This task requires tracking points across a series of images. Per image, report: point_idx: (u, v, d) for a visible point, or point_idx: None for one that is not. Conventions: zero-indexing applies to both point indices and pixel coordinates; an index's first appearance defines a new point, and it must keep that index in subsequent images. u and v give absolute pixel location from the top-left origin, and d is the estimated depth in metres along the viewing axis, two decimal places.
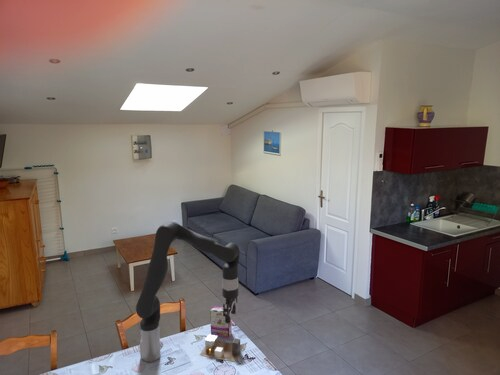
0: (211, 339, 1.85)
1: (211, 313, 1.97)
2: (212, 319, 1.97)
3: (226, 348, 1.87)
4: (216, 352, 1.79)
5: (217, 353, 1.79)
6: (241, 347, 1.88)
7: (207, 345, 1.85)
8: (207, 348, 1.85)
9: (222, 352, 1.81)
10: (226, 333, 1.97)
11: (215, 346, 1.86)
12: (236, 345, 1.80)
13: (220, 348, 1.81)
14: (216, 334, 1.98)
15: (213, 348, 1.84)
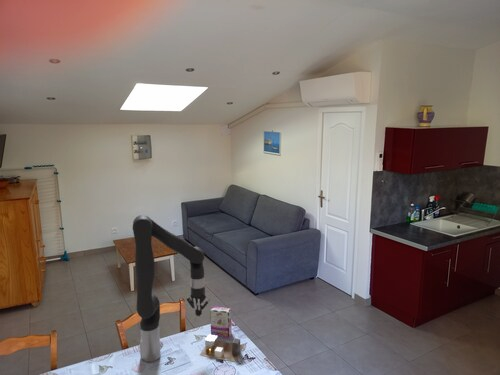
0: (211, 339, 1.85)
1: (211, 313, 1.97)
2: (212, 319, 1.97)
3: (226, 348, 1.87)
4: (216, 352, 1.79)
5: (217, 353, 1.79)
6: (241, 347, 1.88)
7: (207, 345, 1.85)
8: (207, 348, 1.85)
9: (222, 352, 1.81)
10: (226, 333, 1.97)
11: (215, 346, 1.86)
12: (236, 345, 1.80)
13: (220, 348, 1.81)
14: (216, 334, 1.98)
15: (213, 348, 1.84)
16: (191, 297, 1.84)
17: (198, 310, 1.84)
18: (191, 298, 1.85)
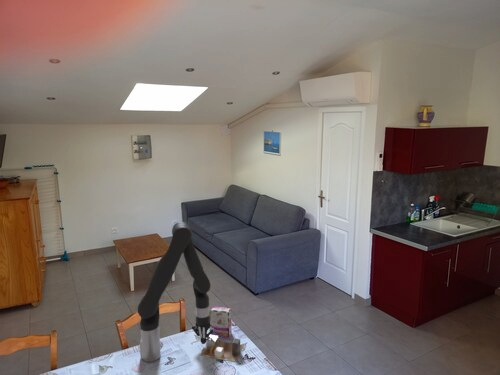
0: (212, 339, 1.84)
1: (211, 313, 1.97)
2: (212, 319, 1.97)
3: (226, 348, 1.87)
4: (216, 352, 1.79)
5: (217, 353, 1.79)
6: (241, 347, 1.88)
7: (208, 345, 1.85)
8: (208, 348, 1.85)
9: (222, 352, 1.81)
10: (226, 333, 1.97)
11: (216, 346, 1.85)
12: (236, 345, 1.80)
13: (220, 348, 1.81)
14: (216, 334, 1.98)
15: (214, 348, 1.84)
16: (196, 325, 1.87)
17: (203, 338, 1.87)
18: (196, 326, 1.87)
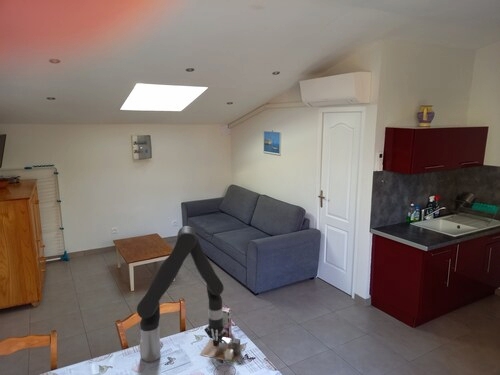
0: (225, 342, 1.82)
1: None
2: None
3: None
4: (226, 354, 1.78)
5: (227, 355, 1.78)
6: (241, 347, 1.88)
7: (221, 348, 1.82)
8: (221, 351, 1.83)
9: (232, 354, 1.79)
10: (226, 333, 1.97)
11: None
12: (236, 345, 1.80)
13: (230, 350, 1.80)
14: None
15: None
16: (209, 327, 1.84)
17: (216, 340, 1.84)
18: (209, 328, 1.85)
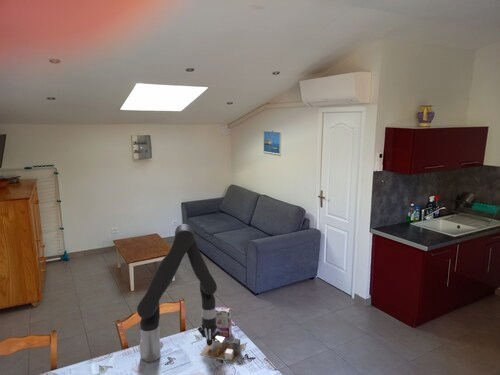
0: (219, 341, 1.83)
1: None
2: None
3: (226, 348, 1.87)
4: (226, 354, 1.78)
5: (227, 355, 1.78)
6: (241, 347, 1.88)
7: (214, 347, 1.83)
8: (214, 349, 1.84)
9: (232, 354, 1.79)
10: (226, 333, 1.97)
11: (223, 347, 1.84)
12: (236, 345, 1.80)
13: (230, 350, 1.80)
14: None
15: (221, 349, 1.83)
16: (202, 327, 1.85)
17: (209, 340, 1.85)
18: (202, 328, 1.86)
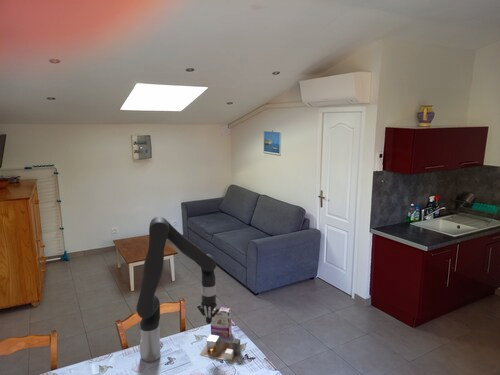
0: (213, 339, 1.84)
1: None
2: (212, 319, 1.97)
3: (226, 348, 1.87)
4: (226, 354, 1.78)
5: (227, 355, 1.78)
6: (241, 347, 1.88)
7: (209, 345, 1.84)
8: (209, 348, 1.85)
9: (232, 354, 1.79)
10: (226, 333, 1.97)
11: (217, 346, 1.85)
12: (236, 345, 1.80)
13: (230, 350, 1.80)
14: (216, 334, 1.98)
15: (215, 348, 1.84)
16: (202, 305, 1.83)
17: (208, 318, 1.84)
18: (202, 306, 1.84)
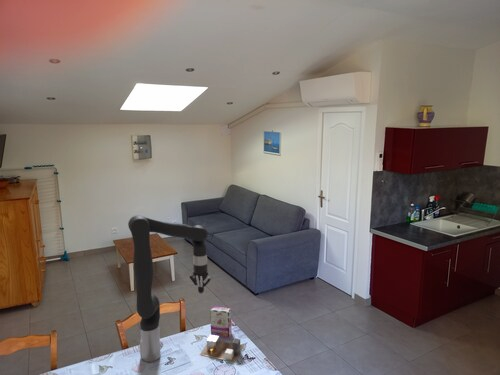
0: (213, 339, 1.84)
1: (211, 313, 1.97)
2: (212, 319, 1.97)
3: (226, 348, 1.87)
4: (226, 354, 1.78)
5: (227, 355, 1.78)
6: (241, 347, 1.88)
7: (209, 345, 1.84)
8: (209, 348, 1.85)
9: (232, 354, 1.79)
10: (226, 333, 1.97)
11: (217, 346, 1.85)
12: (236, 345, 1.80)
13: (230, 350, 1.80)
14: (216, 334, 1.98)
15: (215, 348, 1.84)
16: (194, 274, 1.89)
17: (200, 287, 1.89)
18: (194, 275, 1.89)
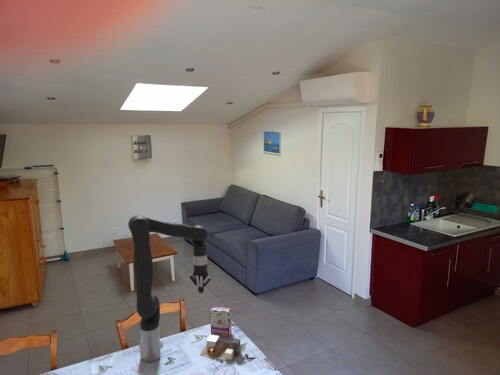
0: (213, 339, 1.84)
1: (211, 313, 1.97)
2: (212, 319, 1.97)
3: (226, 348, 1.87)
4: (226, 354, 1.78)
5: (227, 355, 1.78)
6: (241, 347, 1.88)
7: (209, 345, 1.84)
8: (209, 348, 1.85)
9: (232, 354, 1.79)
10: (226, 333, 1.97)
11: (217, 346, 1.85)
12: (236, 345, 1.80)
13: (230, 350, 1.80)
14: (216, 334, 1.98)
15: (215, 348, 1.84)
16: (194, 274, 1.89)
17: (200, 287, 1.89)
18: (194, 275, 1.89)
